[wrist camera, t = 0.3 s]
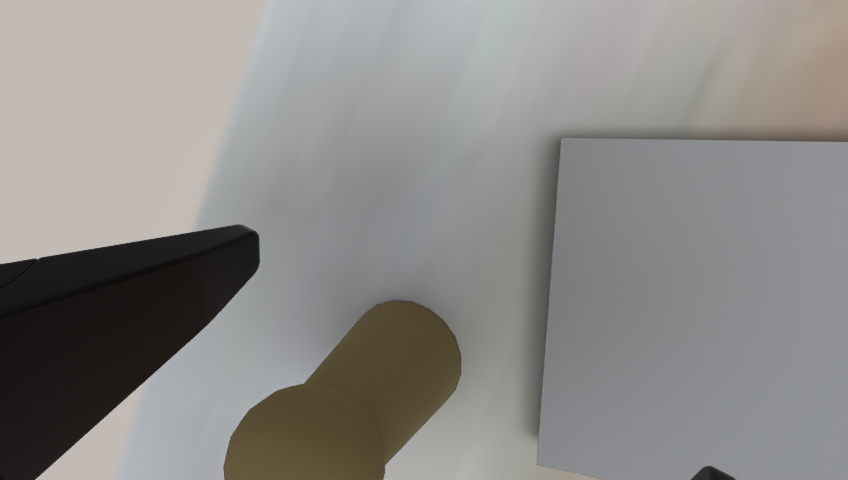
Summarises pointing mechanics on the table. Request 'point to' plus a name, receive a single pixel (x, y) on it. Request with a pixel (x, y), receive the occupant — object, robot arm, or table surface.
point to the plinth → (698, 310)
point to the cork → (352, 402)
